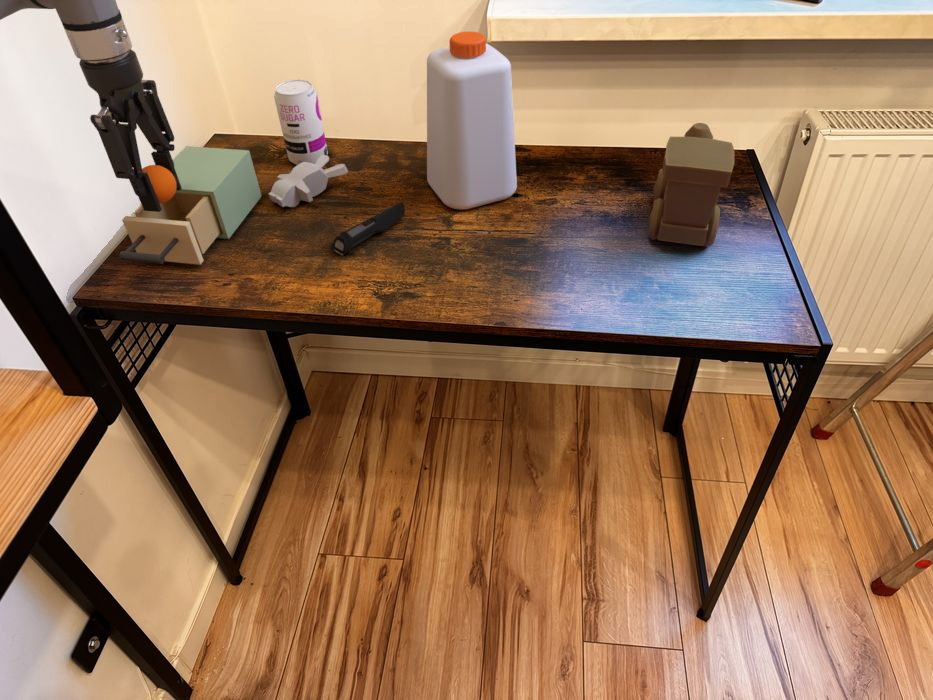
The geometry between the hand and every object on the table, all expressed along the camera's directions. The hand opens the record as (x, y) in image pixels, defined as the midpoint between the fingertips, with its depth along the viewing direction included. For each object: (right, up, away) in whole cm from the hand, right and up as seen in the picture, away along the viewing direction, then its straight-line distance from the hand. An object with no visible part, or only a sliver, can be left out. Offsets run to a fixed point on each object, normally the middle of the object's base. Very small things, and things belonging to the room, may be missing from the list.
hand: (163, 199), depth 109 cm
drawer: (0, -7, +6) cm, 10 cm away
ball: (0, +2, -2) cm, 3 cm away
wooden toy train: (+88, -3, +9) cm, 88 cm away
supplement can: (+17, +15, +30) cm, 38 cm away
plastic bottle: (+51, +6, +20) cm, 55 cm away
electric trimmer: (+33, -4, +10) cm, 34 cm away
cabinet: (+3, +1, +16) cm, 16 cm away
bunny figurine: (+19, +6, +21) cm, 29 cm away
